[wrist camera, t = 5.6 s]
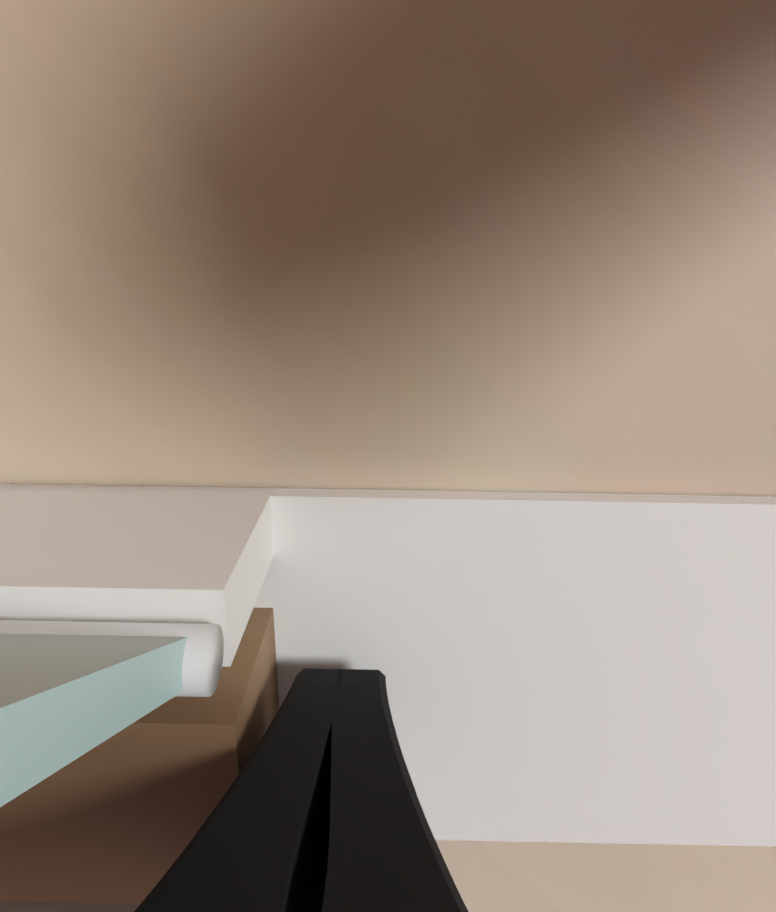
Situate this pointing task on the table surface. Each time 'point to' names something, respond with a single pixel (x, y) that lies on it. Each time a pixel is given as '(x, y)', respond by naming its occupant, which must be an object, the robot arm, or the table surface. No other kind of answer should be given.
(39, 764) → the cover
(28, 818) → the batten
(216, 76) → the table surface
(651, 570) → the white base with panel
